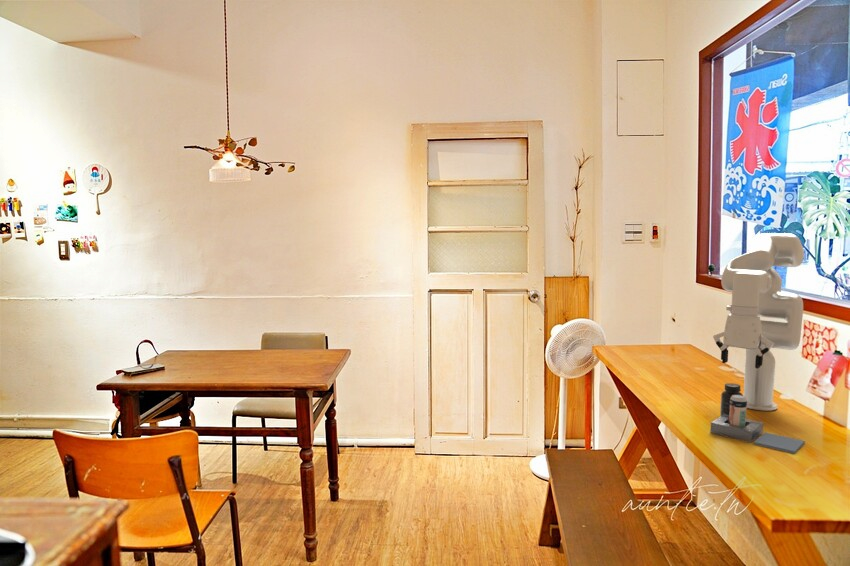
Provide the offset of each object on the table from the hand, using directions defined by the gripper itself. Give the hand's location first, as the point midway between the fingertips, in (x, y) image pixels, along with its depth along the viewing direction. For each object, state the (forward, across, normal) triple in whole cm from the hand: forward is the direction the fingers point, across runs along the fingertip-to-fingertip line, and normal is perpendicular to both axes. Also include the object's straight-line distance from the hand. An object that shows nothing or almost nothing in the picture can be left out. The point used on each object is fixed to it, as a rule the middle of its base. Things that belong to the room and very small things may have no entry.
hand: (741, 365), depth 197 cm
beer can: (+22, 0, 0) cm, 22 cm away
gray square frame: (+22, 0, 0) cm, 22 cm away
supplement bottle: (+22, -6, +14) cm, 27 cm away
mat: (+22, +12, -1) cm, 25 cm away
